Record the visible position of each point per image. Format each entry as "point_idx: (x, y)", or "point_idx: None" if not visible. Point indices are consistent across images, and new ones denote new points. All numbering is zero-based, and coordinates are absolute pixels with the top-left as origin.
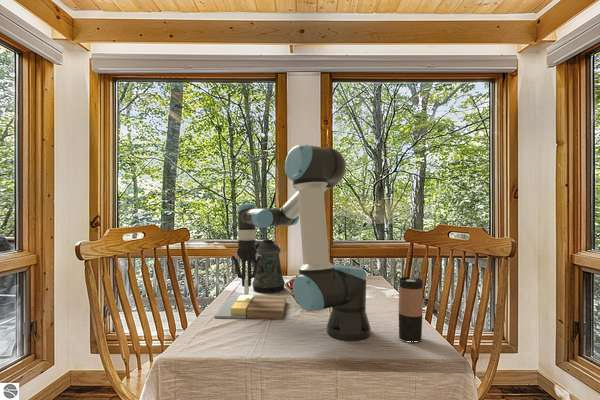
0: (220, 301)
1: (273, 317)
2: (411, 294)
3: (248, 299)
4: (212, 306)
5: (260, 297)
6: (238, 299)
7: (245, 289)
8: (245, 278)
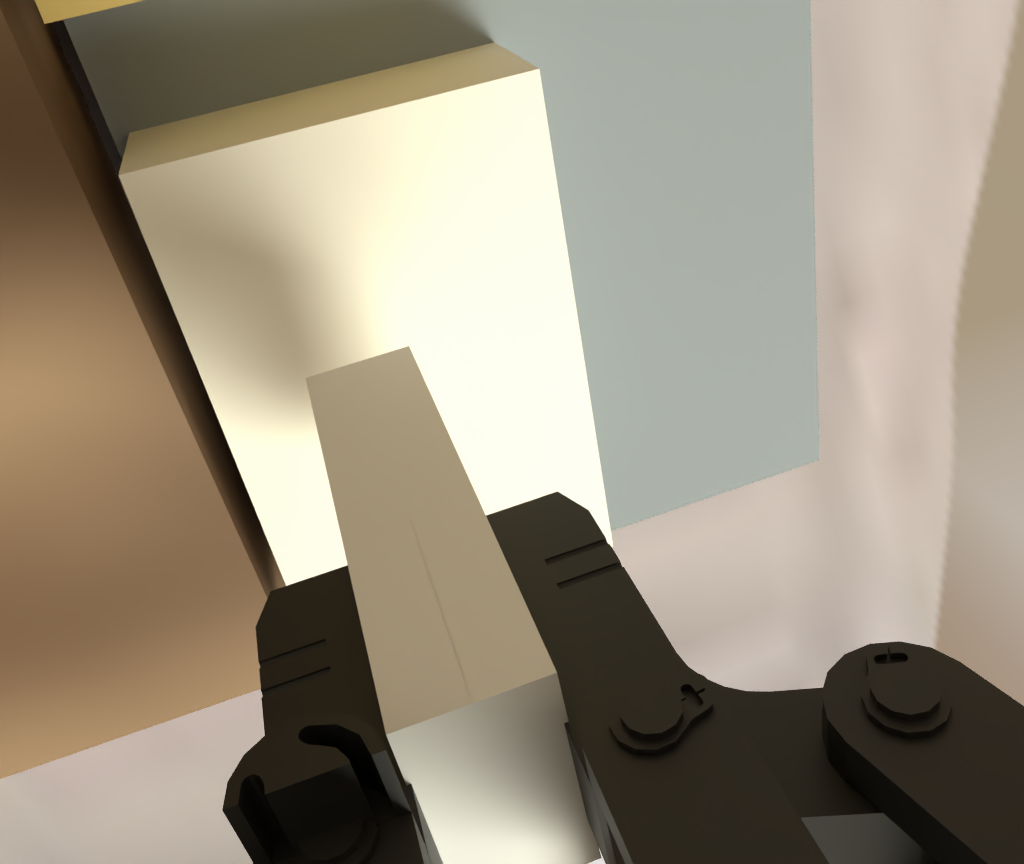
0: (922, 377)
1: None
2: None
3: (246, 285)
4: (1008, 17)
5: (78, 600)
6: (513, 187)
7: (407, 439)
8: (586, 832)
